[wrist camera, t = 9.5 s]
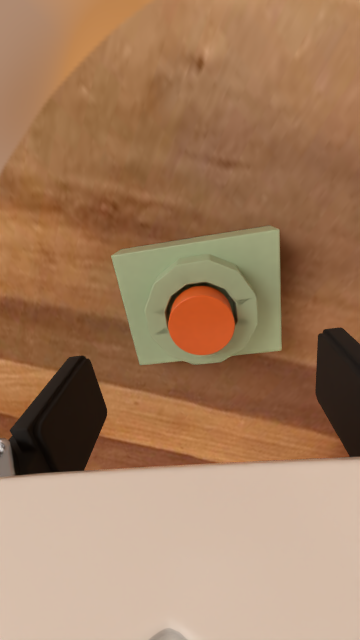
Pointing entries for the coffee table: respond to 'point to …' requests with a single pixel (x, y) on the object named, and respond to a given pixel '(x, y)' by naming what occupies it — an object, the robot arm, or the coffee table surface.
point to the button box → (203, 270)
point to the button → (201, 320)
